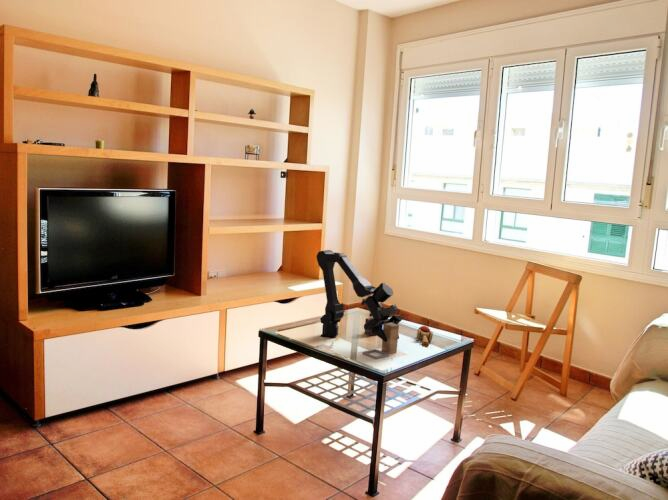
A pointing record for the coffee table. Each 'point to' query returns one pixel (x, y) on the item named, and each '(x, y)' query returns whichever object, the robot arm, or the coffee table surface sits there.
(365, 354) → the plate
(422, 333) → the kendama
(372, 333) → the box
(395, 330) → the pillar
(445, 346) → the coffee table surface
